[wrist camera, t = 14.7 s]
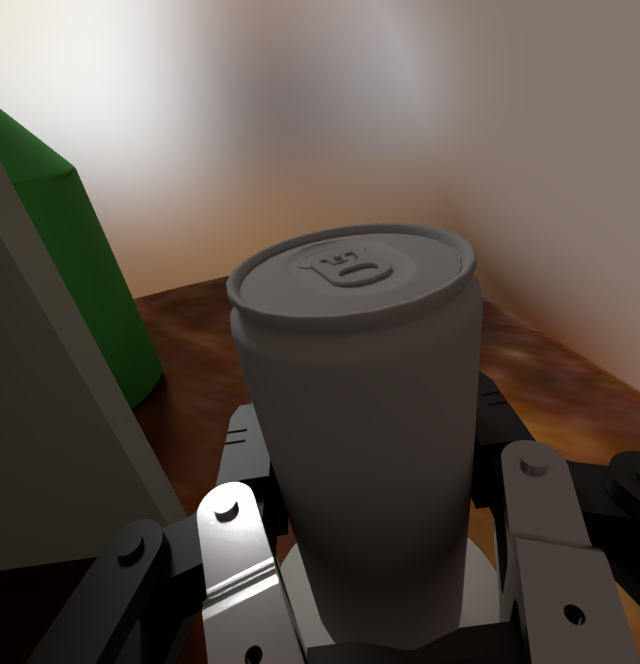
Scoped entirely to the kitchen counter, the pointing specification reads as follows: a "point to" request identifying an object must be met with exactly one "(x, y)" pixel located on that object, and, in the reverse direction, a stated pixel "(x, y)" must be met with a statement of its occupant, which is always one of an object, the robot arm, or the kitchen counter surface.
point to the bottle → (81, 256)
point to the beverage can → (369, 416)
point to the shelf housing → (62, 417)
